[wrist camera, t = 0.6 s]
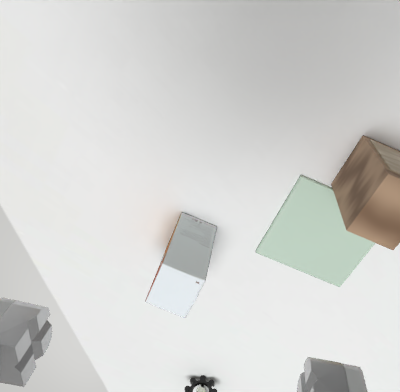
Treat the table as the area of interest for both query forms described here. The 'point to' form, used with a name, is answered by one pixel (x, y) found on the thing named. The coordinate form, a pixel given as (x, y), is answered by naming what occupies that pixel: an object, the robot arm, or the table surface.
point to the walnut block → (371, 192)
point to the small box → (183, 266)
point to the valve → (203, 382)
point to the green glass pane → (314, 235)
